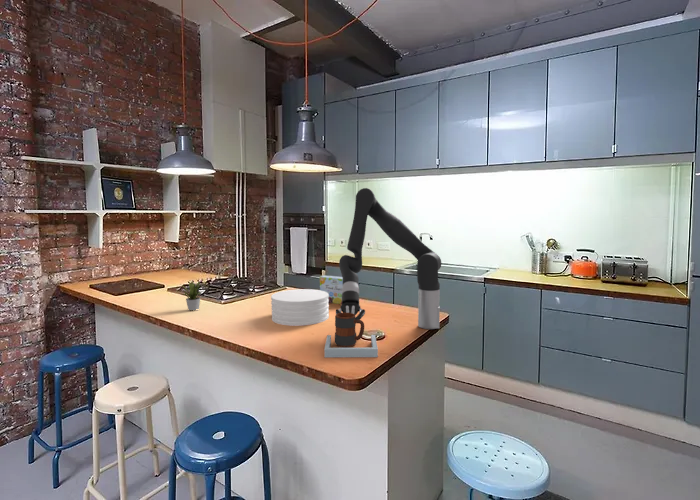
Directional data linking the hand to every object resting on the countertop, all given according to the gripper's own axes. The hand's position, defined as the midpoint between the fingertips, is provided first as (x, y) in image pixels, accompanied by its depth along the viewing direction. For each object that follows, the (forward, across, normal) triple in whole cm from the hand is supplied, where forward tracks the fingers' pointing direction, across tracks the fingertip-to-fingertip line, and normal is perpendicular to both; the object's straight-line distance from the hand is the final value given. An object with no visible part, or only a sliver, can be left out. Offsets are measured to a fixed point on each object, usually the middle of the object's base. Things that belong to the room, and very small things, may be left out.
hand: (350, 331), depth 152 cm
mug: (+6, 0, -1) cm, 6 cm away
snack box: (-42, -8, +48) cm, 65 cm away
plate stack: (-21, -25, +27) cm, 43 cm away
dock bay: (+9, 0, -4) cm, 10 cm away
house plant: (-31, -83, +38) cm, 97 cm away
